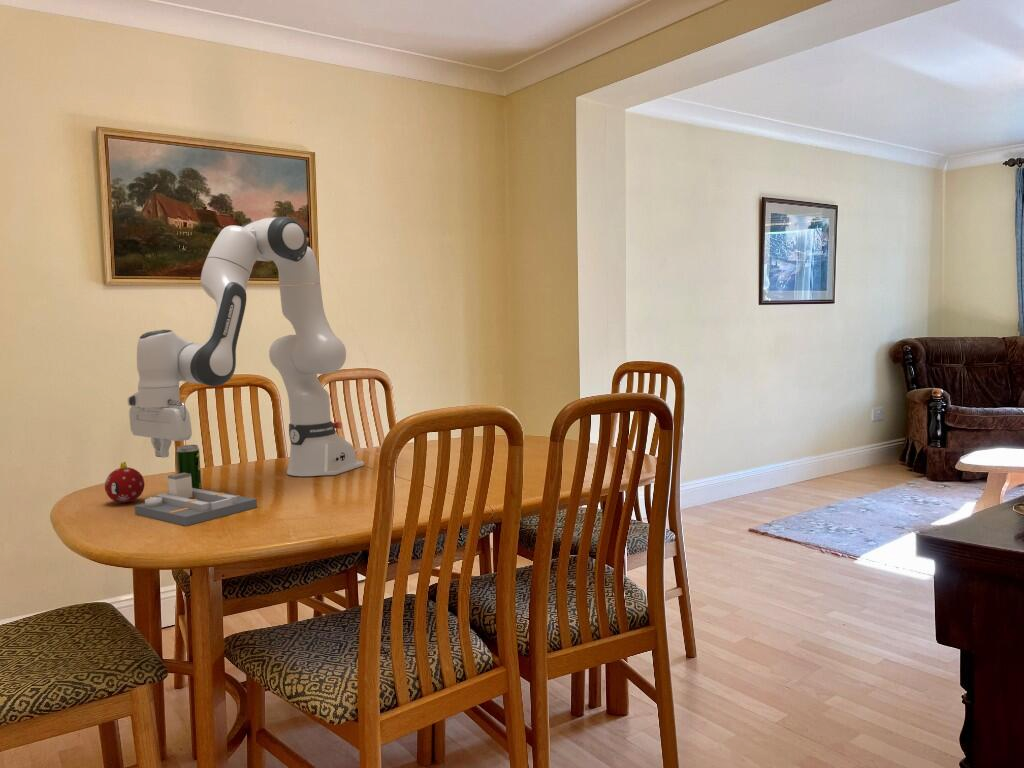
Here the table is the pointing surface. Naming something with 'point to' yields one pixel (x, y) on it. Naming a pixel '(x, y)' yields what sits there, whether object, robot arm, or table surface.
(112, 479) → the christmas ornament
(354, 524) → the table surface
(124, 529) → the table surface
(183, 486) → the fader tab
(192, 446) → the beer can
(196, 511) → the console
